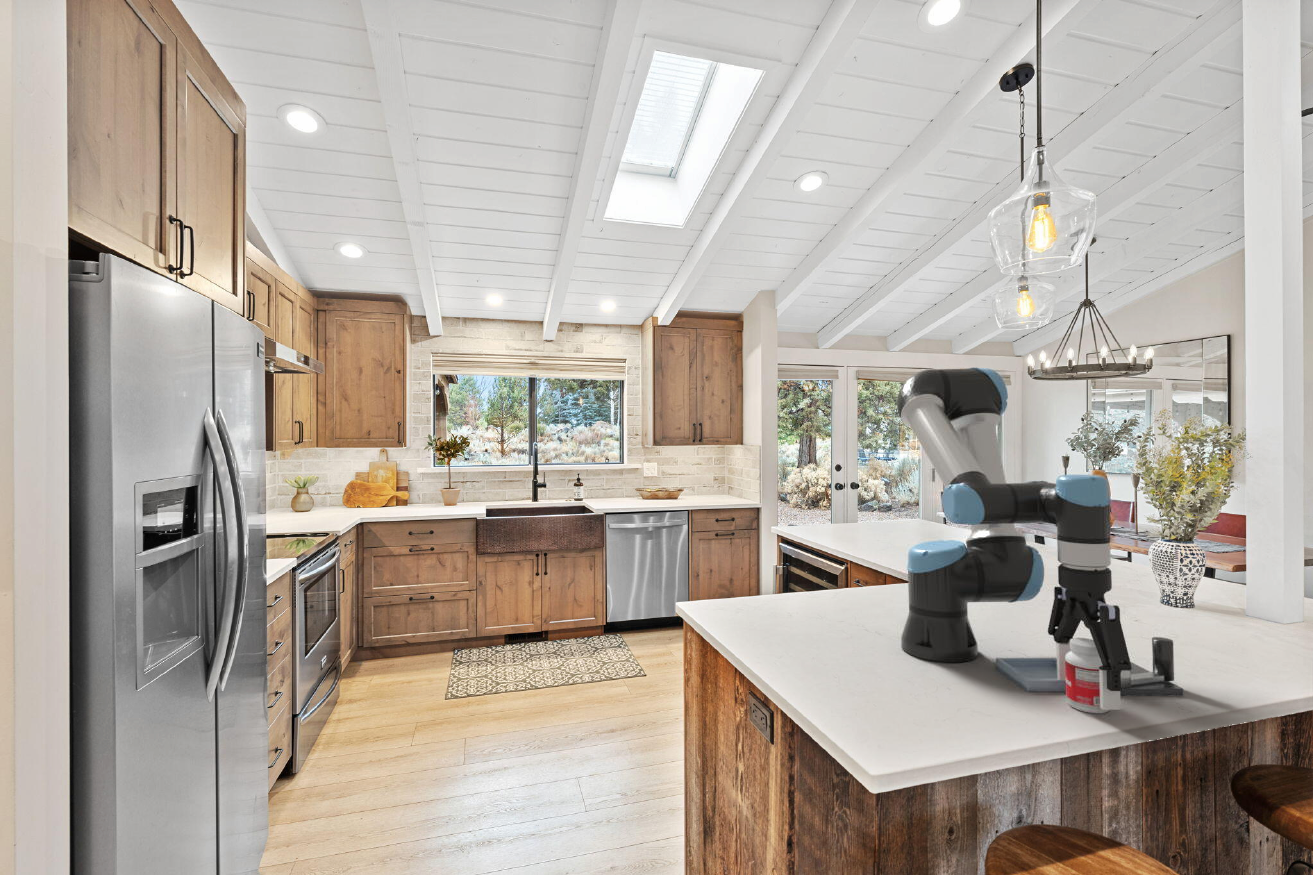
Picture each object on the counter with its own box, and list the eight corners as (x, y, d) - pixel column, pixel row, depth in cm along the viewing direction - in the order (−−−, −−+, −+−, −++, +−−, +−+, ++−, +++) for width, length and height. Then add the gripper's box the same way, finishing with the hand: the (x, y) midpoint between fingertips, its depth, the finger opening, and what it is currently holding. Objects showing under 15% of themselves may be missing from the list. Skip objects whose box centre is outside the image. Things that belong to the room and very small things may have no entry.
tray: (1027, 691, 112) (1027, 680, 112) (996, 667, 124) (995, 657, 124) (1093, 691, 111) (1092, 680, 111) (1055, 667, 123) (1055, 657, 123)
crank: (1119, 688, 109) (1118, 648, 109) (1100, 680, 112) (1099, 642, 112) (1180, 680, 112) (1179, 642, 112) (1160, 673, 115) (1159, 635, 115)
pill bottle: (1070, 696, 110) (1068, 633, 110) (1112, 705, 106) (1110, 641, 106) (1063, 707, 105) (1061, 642, 105) (1107, 718, 101) (1105, 650, 101)
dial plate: (1100, 695, 110) (1099, 654, 110) (1053, 665, 124) (1052, 629, 124) (1183, 695, 109) (1182, 654, 109) (1125, 665, 123) (1124, 629, 123)
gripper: (1158, 581, 94) (1162, 725, 94) (1065, 552, 117) (1068, 667, 117) (1107, 581, 94) (1110, 725, 94) (1024, 552, 118) (1027, 667, 118)
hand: (1087, 693), depth 106 cm, fingers open, 11 cm apart
